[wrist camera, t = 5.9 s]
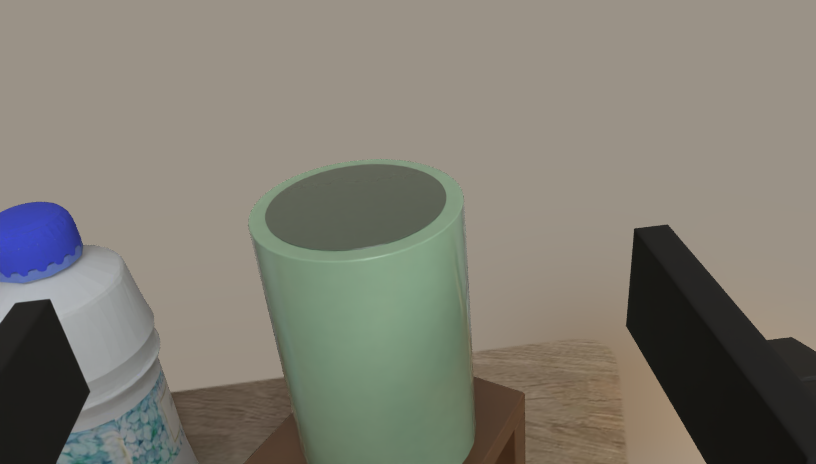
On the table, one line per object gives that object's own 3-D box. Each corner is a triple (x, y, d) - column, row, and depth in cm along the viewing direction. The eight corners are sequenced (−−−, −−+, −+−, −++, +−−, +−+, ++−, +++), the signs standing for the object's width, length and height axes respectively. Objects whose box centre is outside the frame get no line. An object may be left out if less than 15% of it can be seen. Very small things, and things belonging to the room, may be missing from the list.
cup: (264, 459, 28) (200, 232, 23) (364, 351, 34) (332, 147, 28) (421, 531, 25) (390, 282, 19) (504, 397, 30) (499, 173, 25)
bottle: (245, 543, 35) (134, 205, 25) (117, 631, 32) (-69, 279, 22) (192, 469, 40) (81, 158, 30) (76, 538, 36) (-93, 213, 27)
